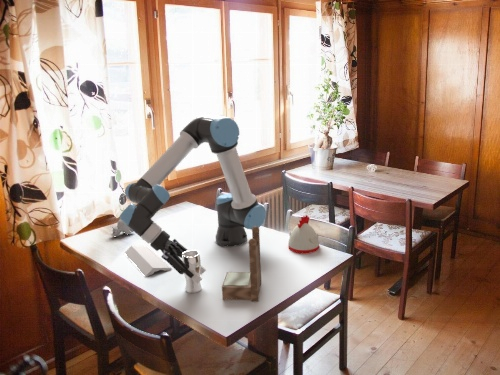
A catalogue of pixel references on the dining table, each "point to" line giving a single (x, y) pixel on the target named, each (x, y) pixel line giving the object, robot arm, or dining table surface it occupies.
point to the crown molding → (146, 260)
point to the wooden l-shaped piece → (245, 275)
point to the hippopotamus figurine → (121, 228)
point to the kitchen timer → (303, 238)
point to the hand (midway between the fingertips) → (201, 276)
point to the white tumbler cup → (194, 263)
